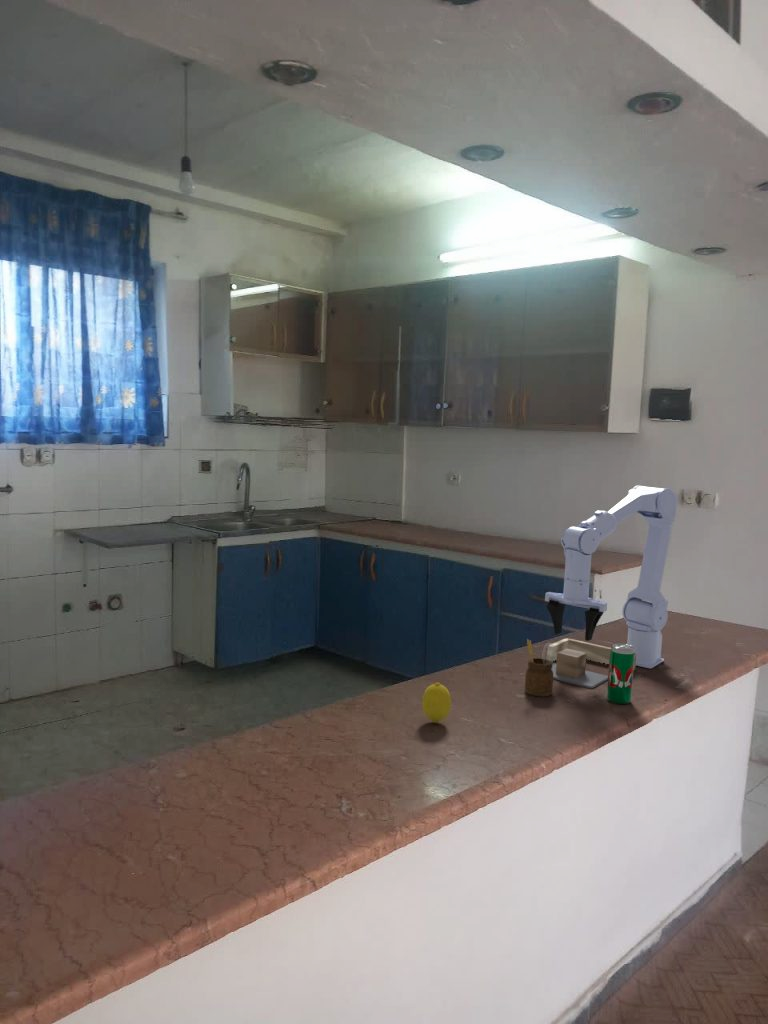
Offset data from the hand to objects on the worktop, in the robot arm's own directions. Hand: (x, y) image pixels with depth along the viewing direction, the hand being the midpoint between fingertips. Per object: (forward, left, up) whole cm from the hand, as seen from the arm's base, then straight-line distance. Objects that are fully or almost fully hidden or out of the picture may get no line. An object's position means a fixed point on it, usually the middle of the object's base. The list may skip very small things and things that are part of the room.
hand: (573, 636), depth 181 cm
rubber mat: (0, 0, -9) cm, 9 cm away
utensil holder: (+16, 0, -10) cm, 19 cm away
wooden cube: (0, 0, -9) cm, 9 cm away
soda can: (+8, +15, -10) cm, 20 cm away
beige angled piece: (-10, 0, -9) cm, 14 cm away
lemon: (+46, -6, -10) cm, 48 cm away
